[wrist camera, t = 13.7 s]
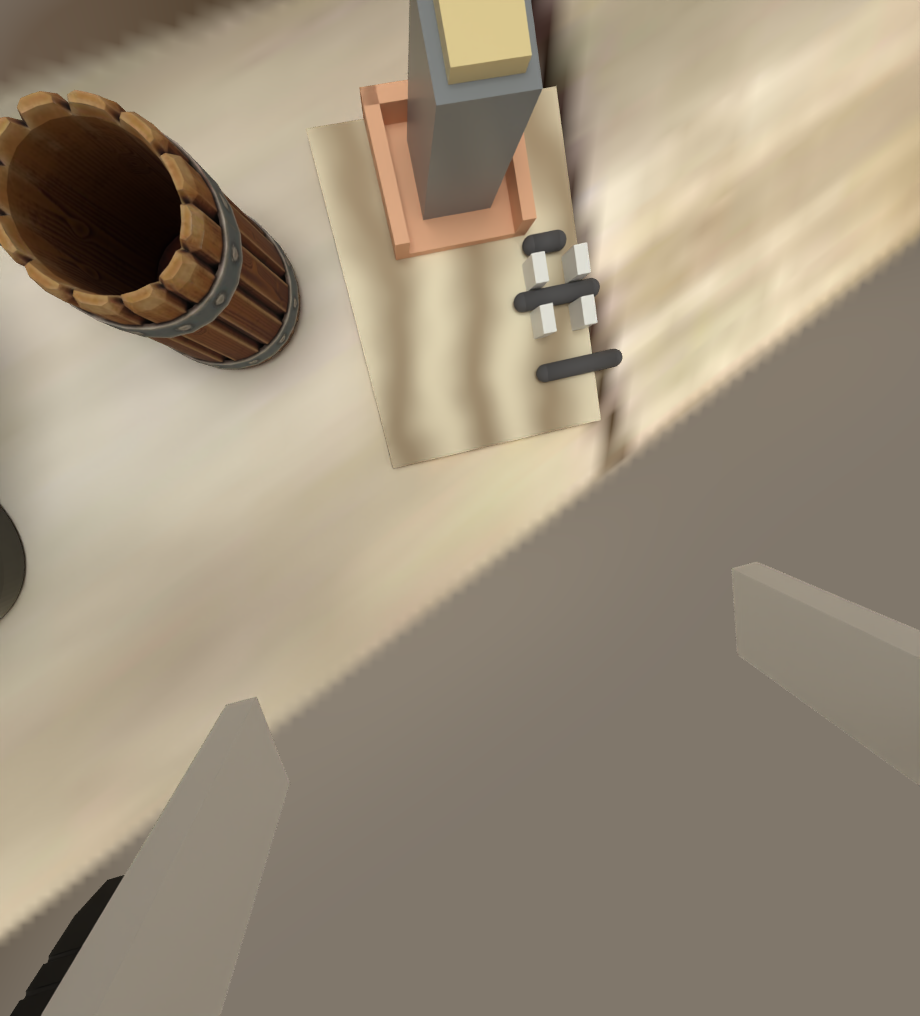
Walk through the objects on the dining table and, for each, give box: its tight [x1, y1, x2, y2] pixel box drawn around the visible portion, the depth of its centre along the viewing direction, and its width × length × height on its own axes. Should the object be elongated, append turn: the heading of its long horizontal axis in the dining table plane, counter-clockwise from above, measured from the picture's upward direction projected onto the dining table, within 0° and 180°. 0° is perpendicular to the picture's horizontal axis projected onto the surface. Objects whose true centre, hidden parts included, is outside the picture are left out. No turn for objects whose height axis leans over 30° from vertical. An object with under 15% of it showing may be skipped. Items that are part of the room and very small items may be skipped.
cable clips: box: [522, 243, 597, 339], centre depth 33 cm, size 4×6×2 cm
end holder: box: [359, 80, 537, 260], centre depth 30 cm, size 10×9×3 cm
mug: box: [0, 90, 300, 369], centre depth 25 cm, size 16×11×15 cm
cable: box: [514, 230, 622, 382], centre depth 34 cm, size 8×11×1 cm
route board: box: [306, 87, 601, 469], centre depth 34 cm, size 18×24×1 cm
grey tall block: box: [407, 0, 543, 220], centre depth 24 cm, size 5×5×13 cm
